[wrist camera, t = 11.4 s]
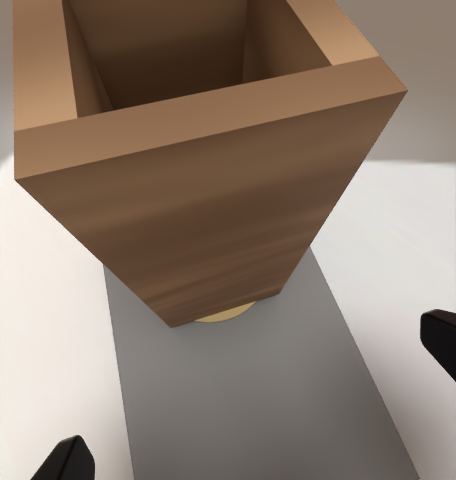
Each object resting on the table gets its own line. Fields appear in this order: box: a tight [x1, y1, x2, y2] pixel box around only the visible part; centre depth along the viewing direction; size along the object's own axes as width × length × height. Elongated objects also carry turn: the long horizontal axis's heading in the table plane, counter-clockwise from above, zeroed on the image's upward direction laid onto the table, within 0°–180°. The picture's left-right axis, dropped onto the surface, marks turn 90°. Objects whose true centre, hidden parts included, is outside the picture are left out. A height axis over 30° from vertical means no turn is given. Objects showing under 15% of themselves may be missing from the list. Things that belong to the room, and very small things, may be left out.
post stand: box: [103, 246, 420, 480], centre depth 14 cm, size 16×12×5 cm
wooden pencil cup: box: [13, 0, 408, 328], centre depth 11 cm, size 6×6×12 cm
